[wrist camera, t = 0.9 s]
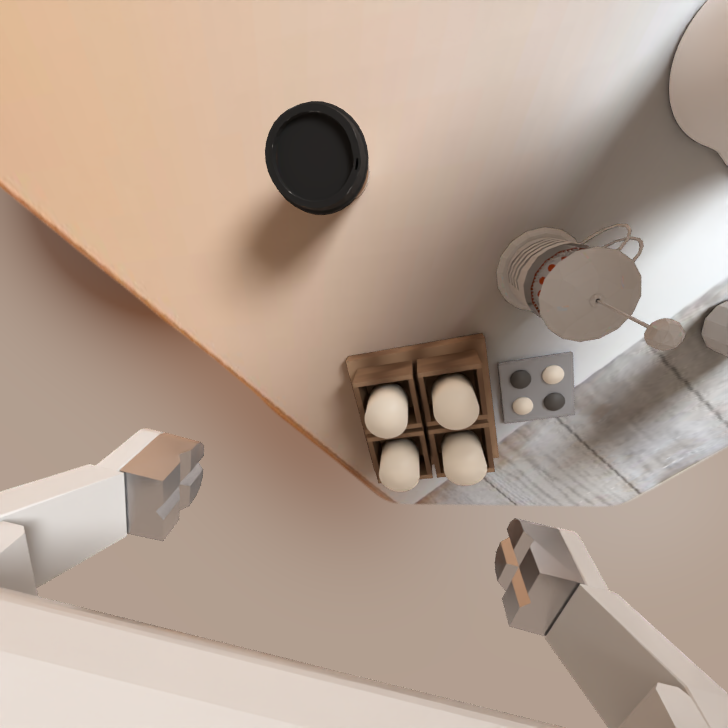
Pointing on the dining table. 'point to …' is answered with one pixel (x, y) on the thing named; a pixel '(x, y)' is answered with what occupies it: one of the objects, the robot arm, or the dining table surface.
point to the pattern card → (537, 387)
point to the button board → (427, 394)
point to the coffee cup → (317, 157)
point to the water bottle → (717, 329)
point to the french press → (578, 286)
